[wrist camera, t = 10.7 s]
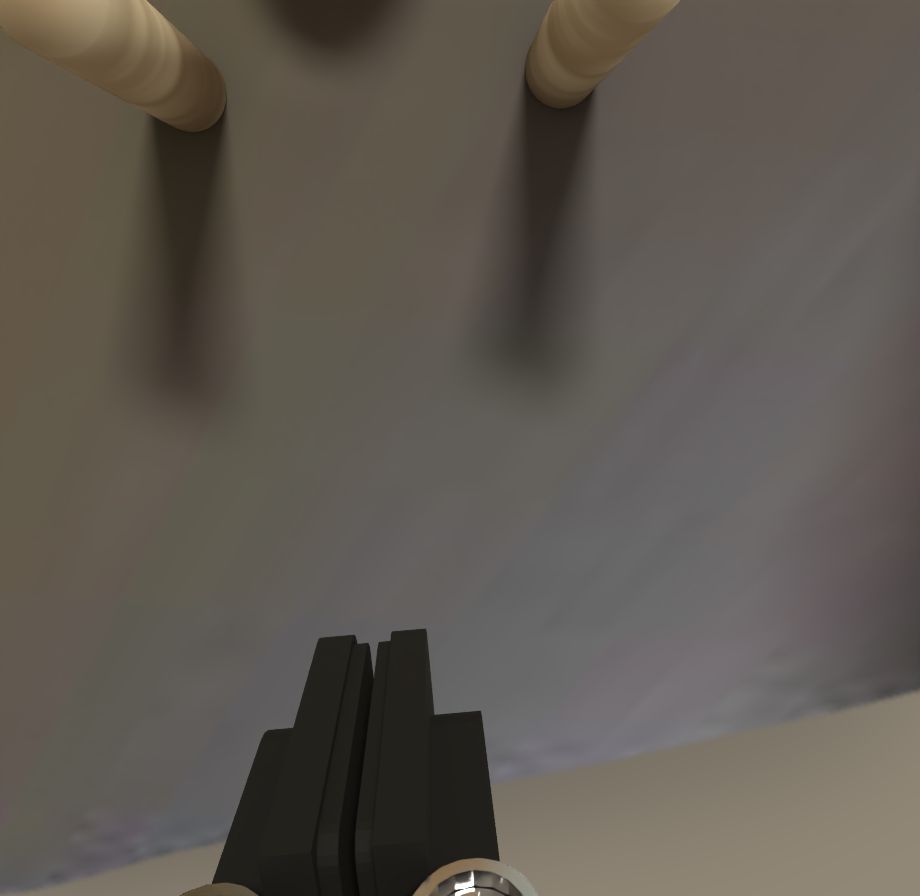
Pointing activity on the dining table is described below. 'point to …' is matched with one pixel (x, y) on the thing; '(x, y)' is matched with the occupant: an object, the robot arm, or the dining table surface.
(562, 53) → the post
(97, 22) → the post
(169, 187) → the dining table surface
